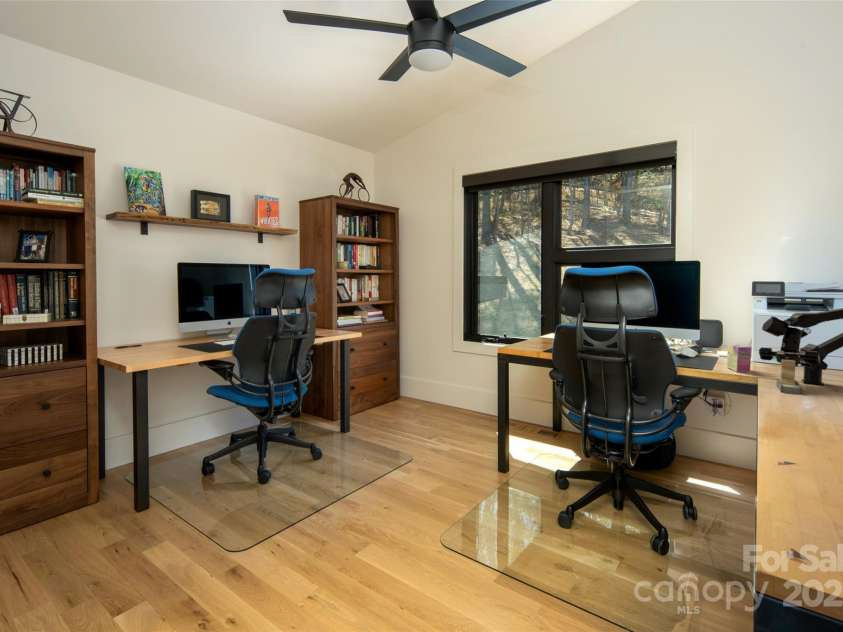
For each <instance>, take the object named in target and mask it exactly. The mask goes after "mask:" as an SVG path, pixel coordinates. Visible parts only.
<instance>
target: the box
mask: <svg viewBox="0 0 843 632" xmlns="http://www.w3.org/2000/svg"><path fill="white" fill-rule="evenodd" d="M726 359H727V360H726V368H727V367H728V368H730V369H729V370H731V369H732V370H731V371H733V370H734V372H735V371H737V372H736V373H743V372H750V373H751V365H752V363H751V361H752V346H751V347H750V346H748V345H745V344H740V343H727V355H726ZM728 368H727V369H728Z"/></svg>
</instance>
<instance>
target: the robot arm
mask: <svg viewBox="0 0 843 632" xmlns="http://www.w3.org/2000/svg"><path fill="white" fill-rule="evenodd" d="M841 319H842V320H843V308H835V309H832V310H831V309H829V310H825V311H824V310H823V311H820V312H796V313H793V314H792V315H791V316H790V317H788V318H786V319H784V320H782V319H779V318H778V317H776V316H770V318H768V319H767V320H766V321H765V322H764V323H763V325H762V327H761V330H762V331H763V332H765V333H768V334H770V335H772V336H775V337H781V336H782V341H781V346H780V350H776V351H773V349H772V347H764V346H763V347H762V346H761V347H760V348H759V349H758V354H759V357H760V360H761V361H771V360H773V358H774V357H775V358H776V362H777V363H780V364H781V362H782V360H795V368H796V367H798V366H799V365H800V366H801V367H803V377H802V379H800V381H801V382H802V383H803V384H808V385H809V384H810V385H821V386H822V385H823V386H825V383H824V382H823V371H826V370H827V369H828V367H829V364H828V363H826V361H825V359H826V358H827V356H828V355H829V354H830V353H833V352H835V351H837V350H839V349H841V348H843V332H841V333H839V334H837V335H835V336H834V337H832V338H830V339H828V340H825V341H823V342H822V343H820V344H817V345H816V344H812V343H808V344H806V345H805V346H803V347H800V346H801V341H802V338H804V337H807V336H808V335H809V334H808V332H806V330H804V329H808V328H812V327H815V326H818V325H819V324H821V323H825V322H829V321H830V322H831V321H836V320H841ZM800 328H803V329H800Z"/></svg>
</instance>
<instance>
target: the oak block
mask: <svg viewBox="0 0 843 632" xmlns="http://www.w3.org/2000/svg"><path fill="white" fill-rule="evenodd" d="M780 366H781V367H780V382H781V383H782V384H787V385H795V380H796V379H795V378H796V367H795V360H782V362H781V363H780Z"/></svg>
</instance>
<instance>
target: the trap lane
mask: <svg viewBox="0 0 843 632" xmlns="http://www.w3.org/2000/svg"><path fill="white" fill-rule="evenodd" d="M776 387H777V388H778V390H779V392H780V393H783V394H784V393H785V394H795V395H802V389H803V387H802V385H801V384H800V383H799V381H797V380H796V379H795V385H787V384H782V383H781V379H779V378H776Z"/></svg>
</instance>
